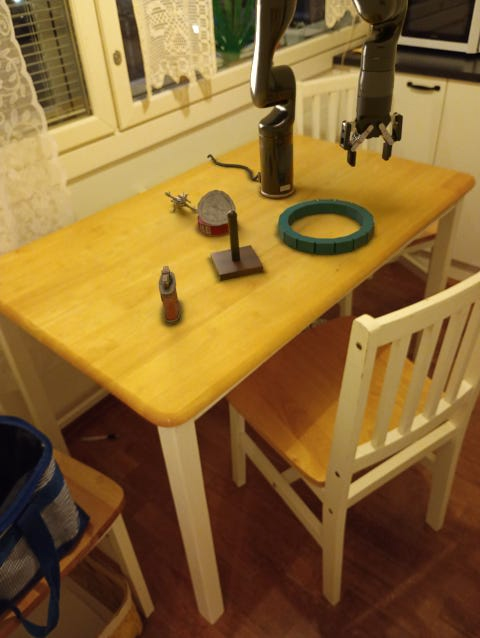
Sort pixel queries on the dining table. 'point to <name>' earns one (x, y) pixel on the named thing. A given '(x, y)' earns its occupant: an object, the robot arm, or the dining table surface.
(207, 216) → the canned food
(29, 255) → the dining table surface
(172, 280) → the lighter
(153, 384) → the dining table surface
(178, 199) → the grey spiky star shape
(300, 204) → the ring
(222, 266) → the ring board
